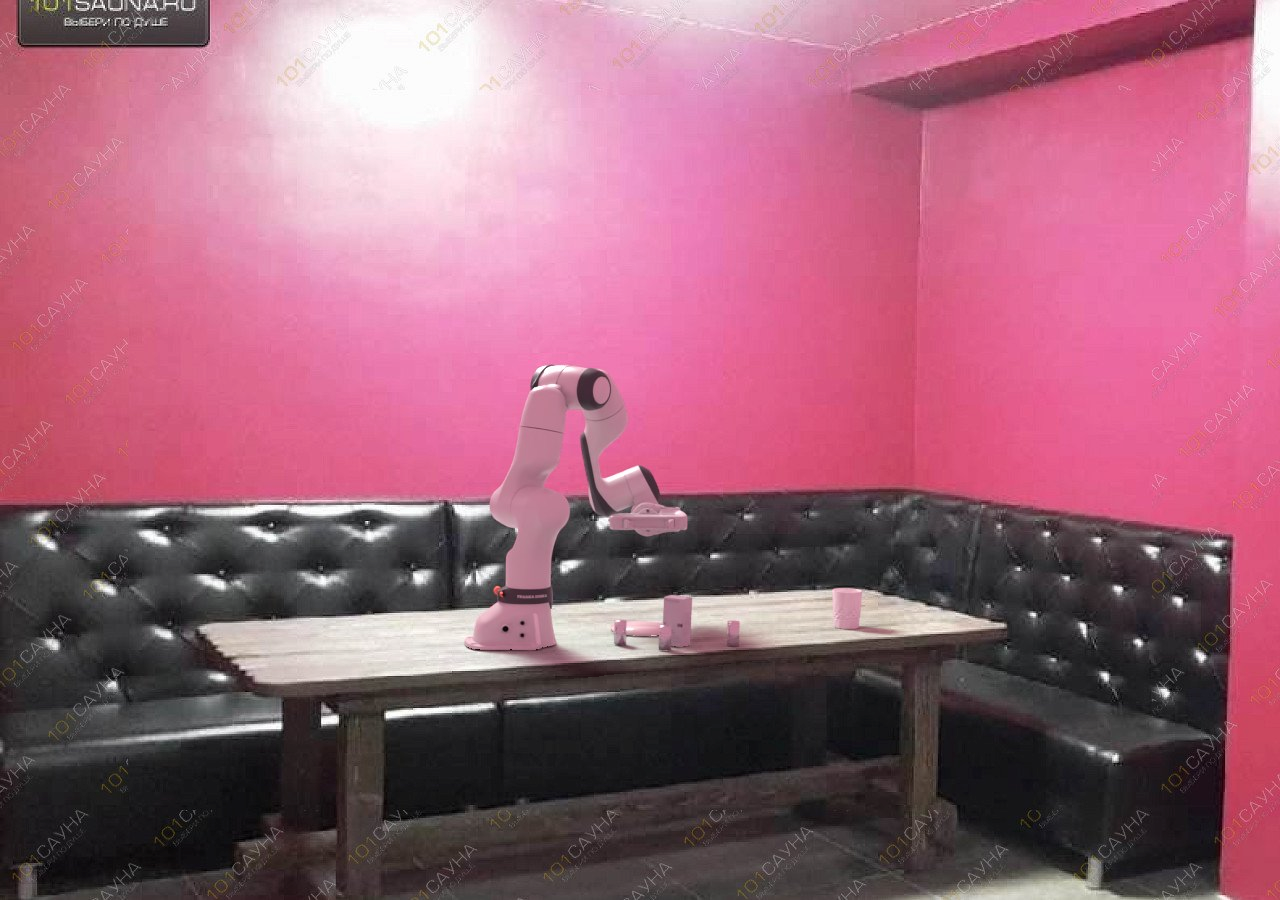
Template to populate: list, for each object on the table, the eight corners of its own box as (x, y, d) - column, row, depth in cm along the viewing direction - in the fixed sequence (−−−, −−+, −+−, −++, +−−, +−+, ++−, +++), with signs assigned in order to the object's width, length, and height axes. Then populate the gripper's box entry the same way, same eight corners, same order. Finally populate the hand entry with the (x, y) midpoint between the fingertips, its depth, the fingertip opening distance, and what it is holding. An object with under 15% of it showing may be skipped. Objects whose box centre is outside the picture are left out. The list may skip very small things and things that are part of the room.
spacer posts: (623, 652, 329) (623, 627, 328) (612, 643, 340) (613, 619, 339) (744, 648, 336) (744, 624, 336) (729, 640, 347) (730, 616, 347)
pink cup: (840, 630, 363) (841, 593, 362) (826, 625, 370) (826, 588, 370) (866, 629, 366) (867, 591, 365) (851, 624, 373) (852, 587, 373)
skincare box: (661, 645, 339) (662, 596, 338) (670, 642, 343) (671, 594, 342) (682, 648, 335) (683, 599, 335) (691, 645, 339) (692, 596, 339)
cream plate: (618, 637, 348) (618, 632, 348) (604, 626, 363) (604, 622, 363) (679, 635, 352) (679, 631, 352) (663, 624, 367) (663, 620, 367)
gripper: (608, 507, 362) (608, 513, 349) (685, 507, 363) (688, 512, 349) (608, 530, 363) (608, 537, 349) (685, 530, 363) (688, 537, 350)
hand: (649, 525), depth 349 cm, fingers open, 8 cm apart
